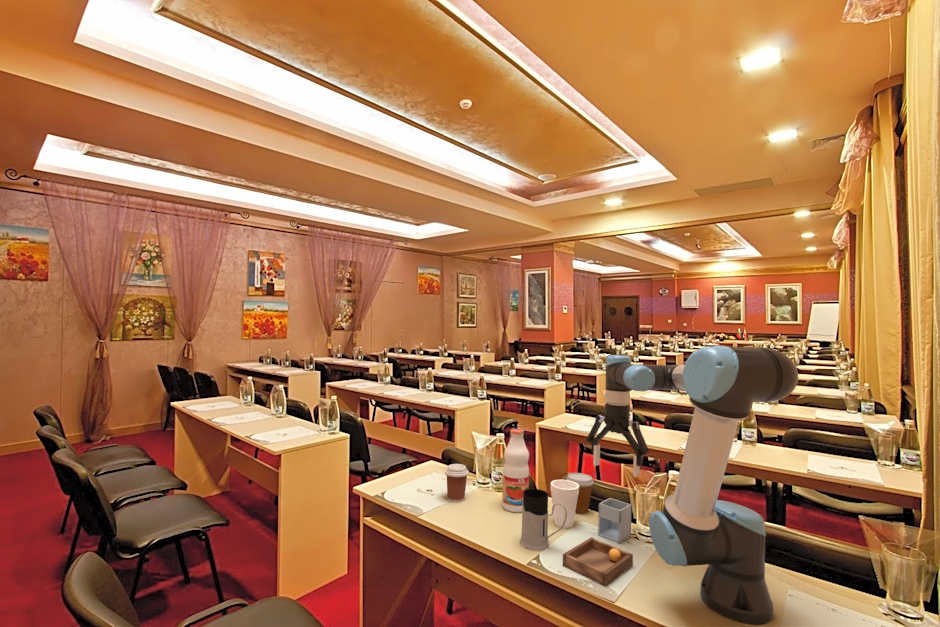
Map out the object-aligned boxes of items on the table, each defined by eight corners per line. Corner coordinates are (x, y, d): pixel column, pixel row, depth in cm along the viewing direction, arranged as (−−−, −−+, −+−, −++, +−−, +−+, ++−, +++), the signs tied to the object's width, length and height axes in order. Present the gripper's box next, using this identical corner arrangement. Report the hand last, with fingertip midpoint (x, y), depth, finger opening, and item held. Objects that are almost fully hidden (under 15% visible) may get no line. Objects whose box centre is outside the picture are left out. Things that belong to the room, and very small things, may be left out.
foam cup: (576, 518, 152) (577, 480, 152) (580, 530, 142) (581, 490, 143) (548, 516, 153) (549, 478, 153) (550, 528, 143) (551, 488, 144)
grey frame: (609, 528, 145) (610, 497, 145) (630, 536, 140) (631, 504, 140) (598, 535, 140) (598, 503, 140) (619, 543, 134) (620, 510, 135)
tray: (632, 565, 122) (632, 554, 123) (605, 586, 112) (606, 574, 112) (590, 547, 132) (591, 537, 132) (562, 565, 121) (562, 554, 121)
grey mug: (526, 533, 139) (528, 486, 140) (570, 546, 132) (571, 496, 132) (515, 545, 132) (516, 494, 132) (560, 559, 124) (562, 505, 125)
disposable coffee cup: (560, 506, 162) (561, 473, 162) (582, 503, 165) (583, 471, 165) (575, 517, 153) (576, 482, 153) (598, 514, 156) (599, 480, 156)
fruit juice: (522, 501, 165) (524, 426, 166) (531, 512, 156) (534, 432, 157) (498, 503, 163) (501, 427, 164) (506, 513, 154) (509, 433, 154)
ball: (622, 563, 122) (623, 551, 124) (616, 559, 121) (617, 547, 123) (612, 562, 124) (612, 550, 126) (606, 558, 123) (606, 546, 125)
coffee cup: (443, 503, 161) (444, 470, 162) (444, 493, 170) (445, 462, 171) (468, 503, 161) (469, 470, 162) (467, 494, 170) (468, 463, 171)
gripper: (661, 408, 135) (659, 478, 134) (588, 397, 153) (587, 458, 152) (650, 410, 129) (649, 483, 129) (577, 399, 147) (575, 462, 147)
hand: (615, 470), depth 140 cm, fingers open, 13 cm apart
